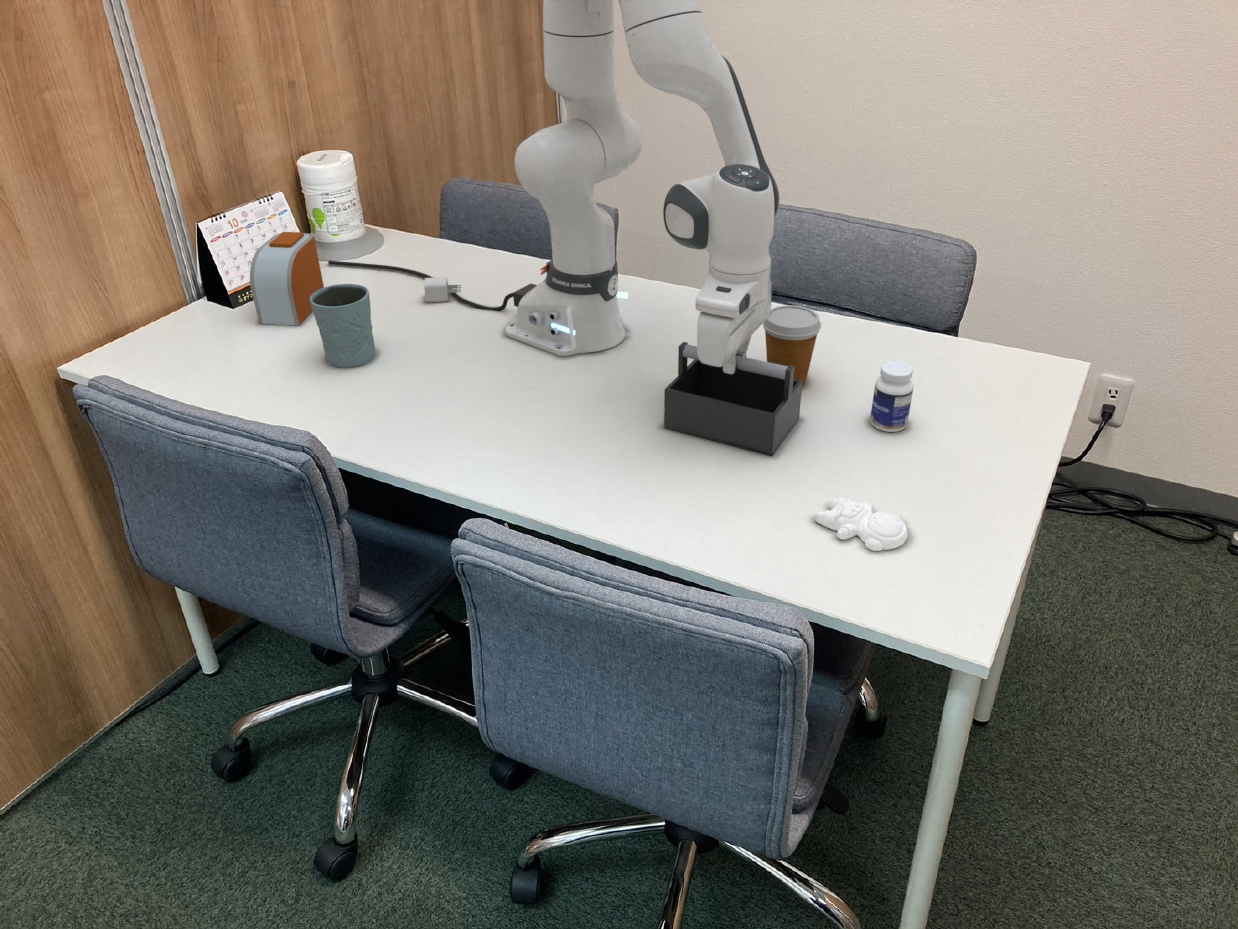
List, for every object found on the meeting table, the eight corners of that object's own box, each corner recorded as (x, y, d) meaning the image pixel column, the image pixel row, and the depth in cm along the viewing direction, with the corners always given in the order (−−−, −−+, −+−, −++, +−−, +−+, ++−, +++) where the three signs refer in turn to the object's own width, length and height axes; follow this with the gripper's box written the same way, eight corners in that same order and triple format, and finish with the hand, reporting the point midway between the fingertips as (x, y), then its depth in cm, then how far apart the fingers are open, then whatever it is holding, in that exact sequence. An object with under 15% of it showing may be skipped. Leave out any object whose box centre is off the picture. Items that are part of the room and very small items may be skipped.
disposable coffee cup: (814, 397, 163) (821, 331, 156) (756, 392, 164) (760, 326, 158) (816, 370, 170) (823, 306, 164) (760, 365, 172) (765, 302, 165)
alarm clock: (289, 292, 202) (275, 228, 194) (329, 293, 201) (316, 229, 193) (257, 323, 190) (241, 256, 182) (299, 325, 189) (285, 258, 181)
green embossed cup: (338, 375, 172) (326, 311, 165) (311, 355, 178) (298, 293, 171) (390, 356, 177) (379, 294, 170) (362, 338, 184) (351, 277, 177)
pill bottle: (862, 419, 157) (870, 363, 151) (892, 411, 158) (901, 355, 153) (884, 436, 152) (892, 379, 147) (914, 428, 154) (924, 371, 149)
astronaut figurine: (840, 496, 139) (842, 479, 137) (918, 530, 132) (921, 512, 131) (806, 525, 134) (808, 507, 132) (885, 562, 127) (888, 543, 125)
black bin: (663, 428, 155) (663, 359, 149) (695, 394, 164) (696, 328, 158) (772, 456, 148) (778, 386, 141) (799, 419, 157) (806, 351, 150)
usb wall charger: (427, 295, 199) (425, 276, 197) (461, 293, 200) (459, 274, 198) (426, 303, 196) (423, 284, 194) (461, 301, 197) (459, 282, 194)
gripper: (745, 254, 152) (741, 335, 159) (689, 304, 137) (687, 391, 144) (784, 260, 149) (778, 343, 157) (732, 312, 134) (727, 401, 142)
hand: (734, 367), depth 151 cm, fingers closed on black bin
